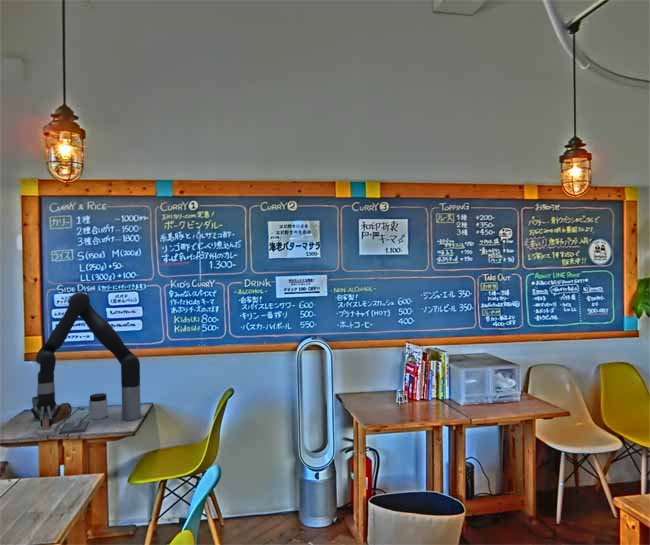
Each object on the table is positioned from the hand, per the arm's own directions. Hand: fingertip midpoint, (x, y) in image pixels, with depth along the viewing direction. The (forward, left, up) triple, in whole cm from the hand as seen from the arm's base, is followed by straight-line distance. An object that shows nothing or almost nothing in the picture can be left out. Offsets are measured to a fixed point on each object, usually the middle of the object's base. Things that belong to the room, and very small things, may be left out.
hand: (46, 426), depth 239 cm
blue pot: (+7, -26, -3) cm, 27 cm away
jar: (-21, -18, -3) cm, 28 cm away
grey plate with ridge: (-12, 0, -3) cm, 12 cm away
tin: (-2, -20, -3) cm, 20 cm away
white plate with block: (-1, 0, -3) cm, 3 cm away
